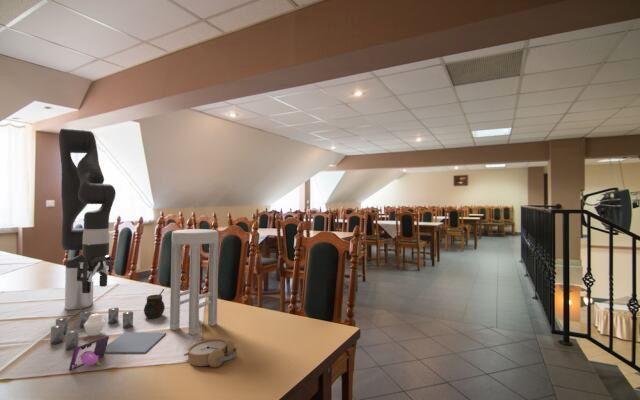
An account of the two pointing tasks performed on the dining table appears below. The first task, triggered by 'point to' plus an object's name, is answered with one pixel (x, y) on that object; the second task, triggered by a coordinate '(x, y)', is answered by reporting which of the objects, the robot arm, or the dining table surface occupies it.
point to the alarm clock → (211, 352)
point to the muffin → (94, 324)
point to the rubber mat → (134, 342)
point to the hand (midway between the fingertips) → (95, 289)
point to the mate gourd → (154, 306)
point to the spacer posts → (73, 335)
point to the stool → (193, 277)
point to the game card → (90, 353)
